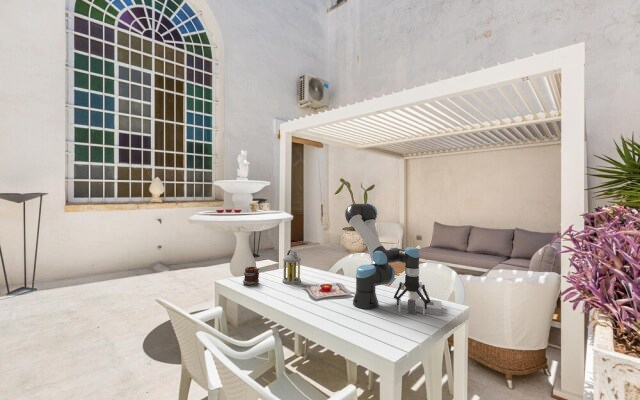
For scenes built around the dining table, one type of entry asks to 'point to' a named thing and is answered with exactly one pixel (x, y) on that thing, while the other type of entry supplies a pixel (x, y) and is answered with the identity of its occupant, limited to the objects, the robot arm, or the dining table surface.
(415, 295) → the foam cup
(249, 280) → the mug
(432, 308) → the socket plate
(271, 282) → the dining table surface
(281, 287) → the dining table surface
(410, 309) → the plug
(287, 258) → the lantern
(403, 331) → the dining table surface
